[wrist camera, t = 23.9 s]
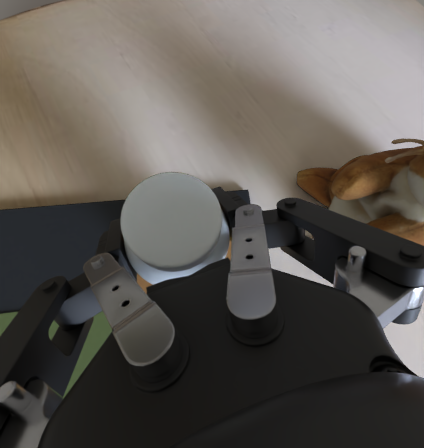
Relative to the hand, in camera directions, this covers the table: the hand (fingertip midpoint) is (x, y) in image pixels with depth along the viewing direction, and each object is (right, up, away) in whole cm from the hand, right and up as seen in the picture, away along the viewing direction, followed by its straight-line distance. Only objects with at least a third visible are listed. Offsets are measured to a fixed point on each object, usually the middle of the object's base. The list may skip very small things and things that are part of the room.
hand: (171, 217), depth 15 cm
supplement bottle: (0, -3, +4) cm, 5 cm away
